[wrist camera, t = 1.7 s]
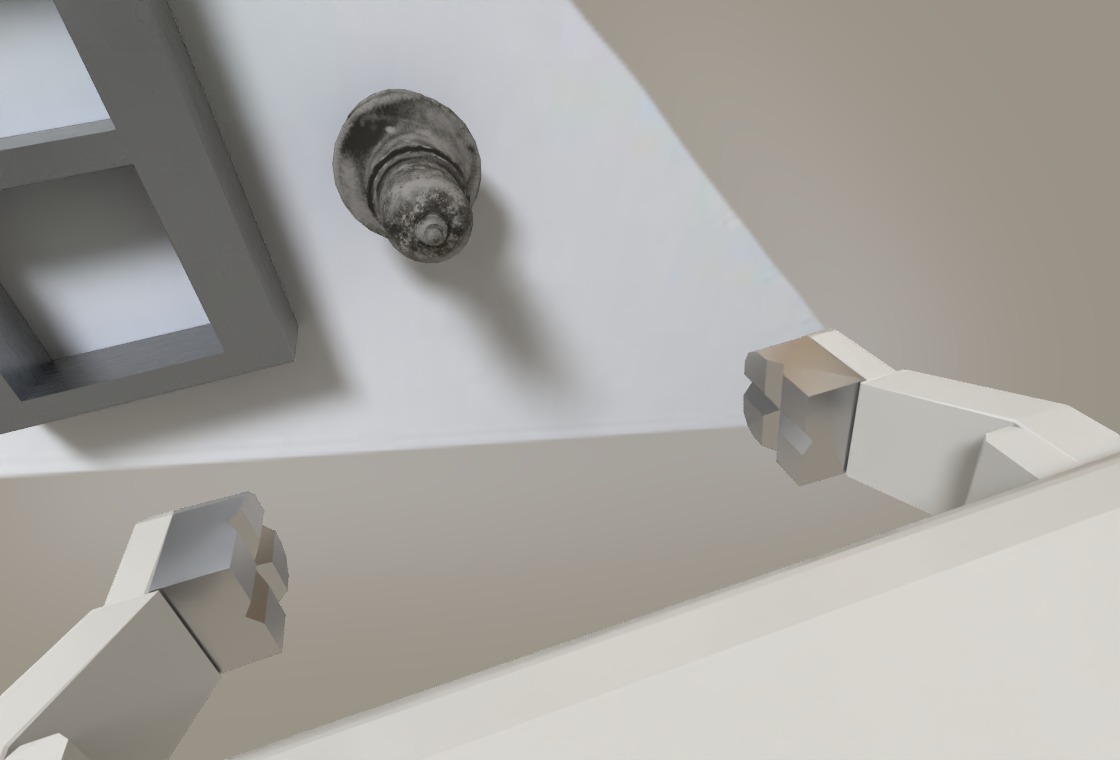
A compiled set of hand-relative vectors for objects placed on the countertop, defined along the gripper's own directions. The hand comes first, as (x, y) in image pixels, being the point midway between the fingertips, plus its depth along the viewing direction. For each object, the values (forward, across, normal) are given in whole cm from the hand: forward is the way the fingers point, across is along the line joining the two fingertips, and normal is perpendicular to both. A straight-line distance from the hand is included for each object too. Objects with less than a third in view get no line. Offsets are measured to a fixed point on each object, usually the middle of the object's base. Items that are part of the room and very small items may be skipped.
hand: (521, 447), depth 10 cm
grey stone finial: (+23, 0, 0) cm, 23 cm away
